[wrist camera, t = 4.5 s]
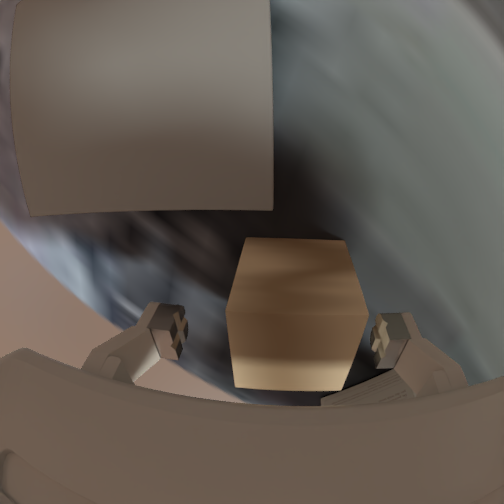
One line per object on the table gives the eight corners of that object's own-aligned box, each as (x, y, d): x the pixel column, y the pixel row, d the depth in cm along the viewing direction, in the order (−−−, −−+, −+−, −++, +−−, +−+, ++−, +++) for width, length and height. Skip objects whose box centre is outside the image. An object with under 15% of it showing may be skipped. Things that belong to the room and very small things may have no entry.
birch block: (344, 239, 12) (369, 315, 8) (331, 313, 15) (340, 390, 10) (246, 236, 13) (225, 310, 8) (249, 310, 15) (235, 387, 11)
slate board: (264, -79, 5) (262, -89, 4) (273, 201, 12) (272, 210, 11) (27, 5, 6) (16, 4, 5) (40, 210, 13) (30, 216, 12)
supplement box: (353, 423, 21) (356, 540, 11) (318, 396, 19) (314, 548, 8) (424, 395, 19) (446, 517, 8) (407, 359, 16) (439, 526, 5)
